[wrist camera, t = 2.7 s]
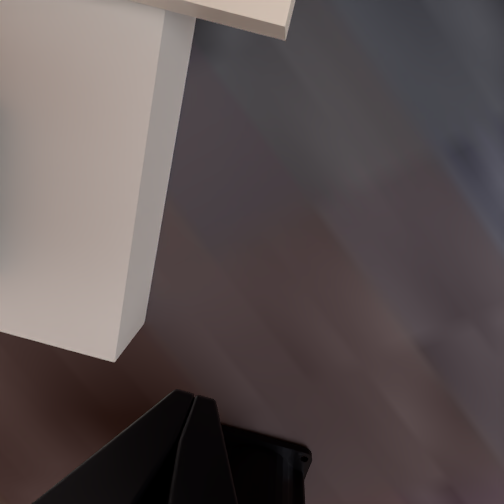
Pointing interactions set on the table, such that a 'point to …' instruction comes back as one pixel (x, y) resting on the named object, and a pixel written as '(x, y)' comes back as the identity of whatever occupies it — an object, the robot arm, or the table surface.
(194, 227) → the table surface
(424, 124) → the table surface
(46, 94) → the white block with cutout
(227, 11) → the cover
